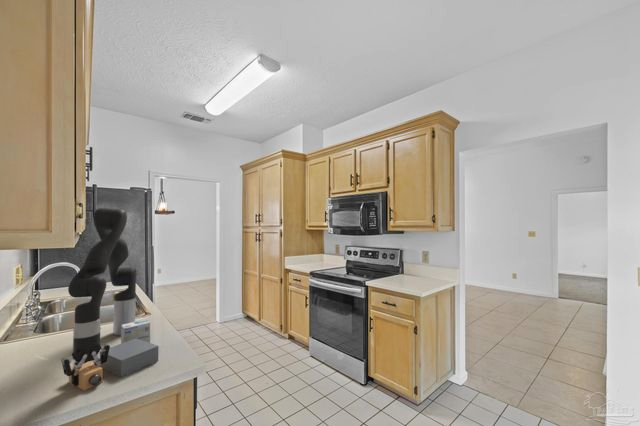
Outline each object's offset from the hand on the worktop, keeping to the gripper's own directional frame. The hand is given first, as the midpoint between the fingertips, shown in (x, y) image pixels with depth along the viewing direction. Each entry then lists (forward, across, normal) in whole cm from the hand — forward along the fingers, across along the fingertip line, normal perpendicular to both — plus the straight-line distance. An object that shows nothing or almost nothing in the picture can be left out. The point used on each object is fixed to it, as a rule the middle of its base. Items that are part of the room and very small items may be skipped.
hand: (86, 380), depth 102 cm
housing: (+1, 0, 0) cm, 1 cm away
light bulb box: (+1, -25, -15) cm, 29 cm away
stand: (+1, -15, -1) cm, 15 cm away
